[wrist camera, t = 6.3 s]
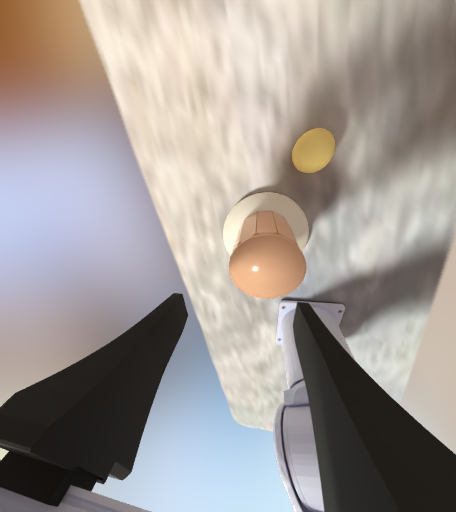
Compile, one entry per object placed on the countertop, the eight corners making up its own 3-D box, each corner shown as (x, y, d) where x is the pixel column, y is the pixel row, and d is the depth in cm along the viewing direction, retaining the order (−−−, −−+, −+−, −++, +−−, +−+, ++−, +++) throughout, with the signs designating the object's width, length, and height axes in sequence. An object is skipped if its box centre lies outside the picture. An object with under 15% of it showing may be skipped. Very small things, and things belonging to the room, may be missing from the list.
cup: (288, 258, 18) (300, 300, 13) (240, 257, 20) (231, 296, 14) (293, 209, 16) (312, 235, 10) (237, 211, 17) (225, 236, 11)
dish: (300, 269, 20) (302, 272, 19) (227, 266, 21) (226, 270, 21) (314, 189, 15) (316, 190, 15) (221, 194, 17) (219, 195, 16)
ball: (322, 171, 15) (336, 173, 12) (287, 173, 15) (293, 175, 13) (330, 129, 13) (347, 121, 11) (291, 133, 14) (298, 127, 11)
